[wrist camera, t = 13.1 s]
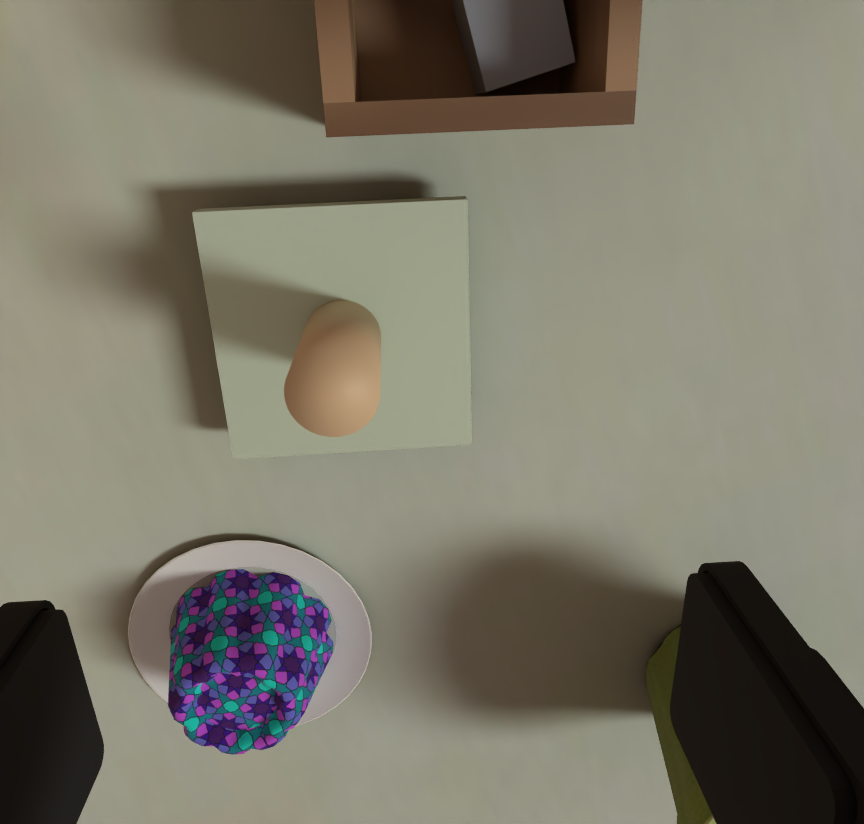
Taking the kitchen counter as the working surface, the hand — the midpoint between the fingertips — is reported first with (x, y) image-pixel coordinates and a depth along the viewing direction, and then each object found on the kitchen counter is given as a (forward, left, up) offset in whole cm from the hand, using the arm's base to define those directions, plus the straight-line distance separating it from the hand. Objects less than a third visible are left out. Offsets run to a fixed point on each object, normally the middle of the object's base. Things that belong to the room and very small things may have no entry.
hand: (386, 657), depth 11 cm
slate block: (-10, +5, -20) cm, 22 cm away
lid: (+1, -2, -21) cm, 21 cm away
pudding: (+17, -8, -21) cm, 28 cm away
